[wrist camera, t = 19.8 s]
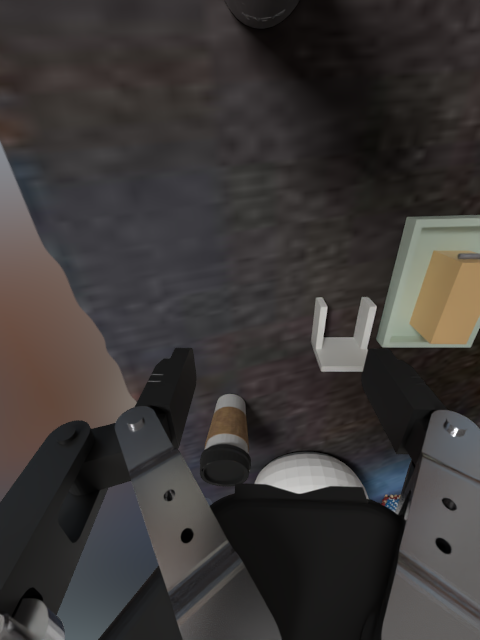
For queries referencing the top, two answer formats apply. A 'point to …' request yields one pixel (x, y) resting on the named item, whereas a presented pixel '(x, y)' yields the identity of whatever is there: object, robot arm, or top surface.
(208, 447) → the coffee cup
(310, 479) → the pot
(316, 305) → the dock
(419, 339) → the tray
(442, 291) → the box with top handle
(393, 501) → the woven mat
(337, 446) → the top surface
